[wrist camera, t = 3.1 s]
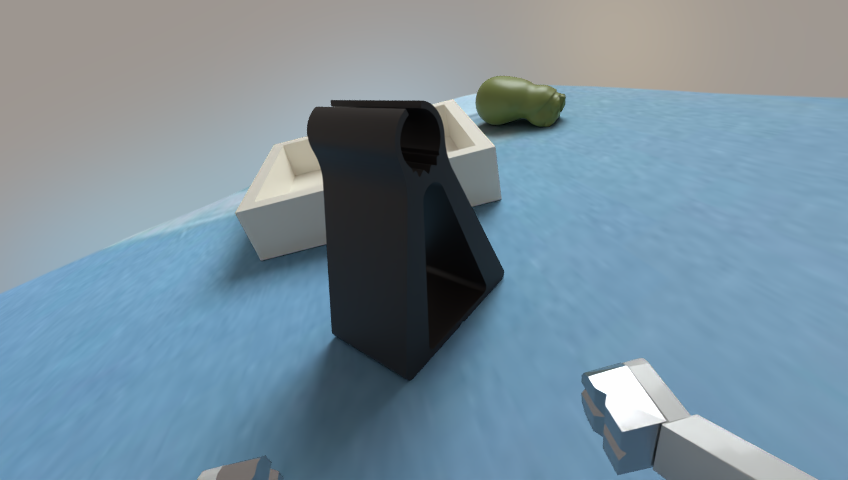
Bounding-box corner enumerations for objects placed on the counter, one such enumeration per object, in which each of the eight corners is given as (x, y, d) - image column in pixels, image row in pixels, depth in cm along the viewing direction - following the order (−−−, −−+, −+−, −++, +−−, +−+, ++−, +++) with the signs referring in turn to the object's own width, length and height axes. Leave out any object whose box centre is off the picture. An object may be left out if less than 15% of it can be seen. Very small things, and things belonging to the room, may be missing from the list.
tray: (260, 260, 32) (235, 212, 30) (290, 181, 46) (274, 144, 43) (501, 199, 32) (495, 146, 30) (459, 138, 46) (452, 99, 43)
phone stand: (431, 252, 28) (387, 75, 22) (505, 276, 24) (479, 70, 18) (333, 337, 23) (239, 139, 17) (407, 384, 19) (322, 152, 13)
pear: (487, 68, 47) (574, 75, 43) (486, 112, 51) (566, 123, 46) (468, 82, 44) (561, 91, 39) (467, 128, 47) (553, 141, 43)
